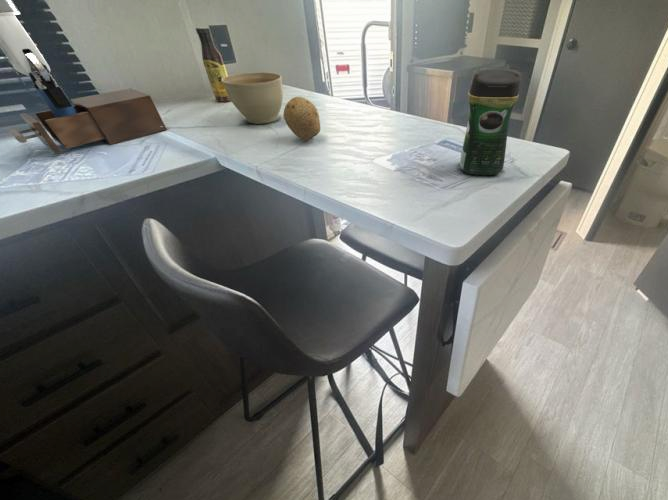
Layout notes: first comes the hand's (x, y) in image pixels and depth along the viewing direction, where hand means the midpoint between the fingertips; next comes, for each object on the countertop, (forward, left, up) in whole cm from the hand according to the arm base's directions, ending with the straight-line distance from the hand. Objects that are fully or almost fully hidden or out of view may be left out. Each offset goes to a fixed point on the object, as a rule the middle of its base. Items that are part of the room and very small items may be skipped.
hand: (59, 104), depth 77 cm
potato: (+38, -45, -9) cm, 60 cm away
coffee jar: (+50, -91, -9) cm, 104 cm away
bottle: (0, 0, -7) cm, 7 cm away
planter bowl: (+41, -21, -9) cm, 47 cm away
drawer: (-3, 0, -8) cm, 9 cm away
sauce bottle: (+46, +9, -9) cm, 48 cm away
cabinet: (+11, 0, -9) cm, 14 cm away
